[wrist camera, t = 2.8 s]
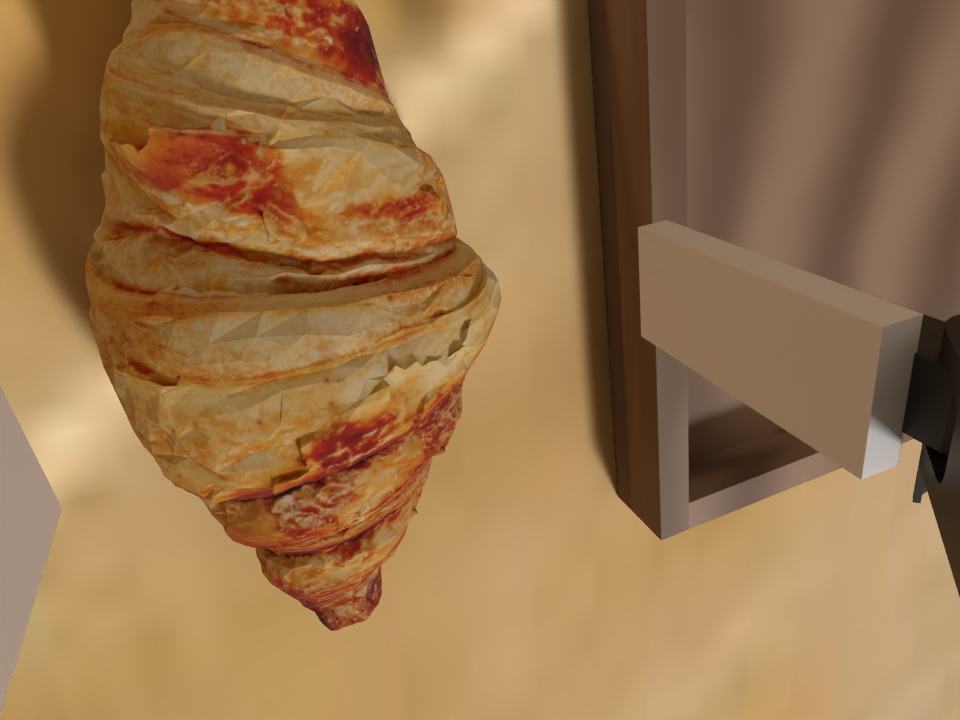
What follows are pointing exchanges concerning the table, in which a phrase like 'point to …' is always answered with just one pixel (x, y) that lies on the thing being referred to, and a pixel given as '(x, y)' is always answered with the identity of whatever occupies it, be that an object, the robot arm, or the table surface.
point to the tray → (765, 201)
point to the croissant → (281, 284)
